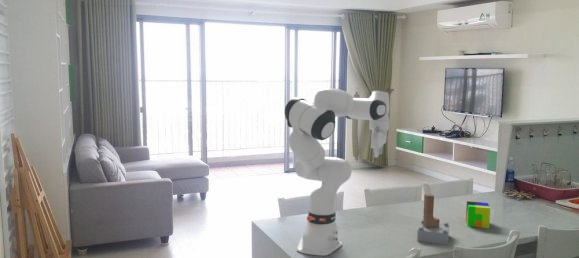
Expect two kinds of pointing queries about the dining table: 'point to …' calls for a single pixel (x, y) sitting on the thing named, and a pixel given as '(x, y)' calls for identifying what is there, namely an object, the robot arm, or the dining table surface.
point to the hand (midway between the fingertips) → (378, 155)
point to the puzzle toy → (478, 214)
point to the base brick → (434, 233)
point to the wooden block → (429, 212)
